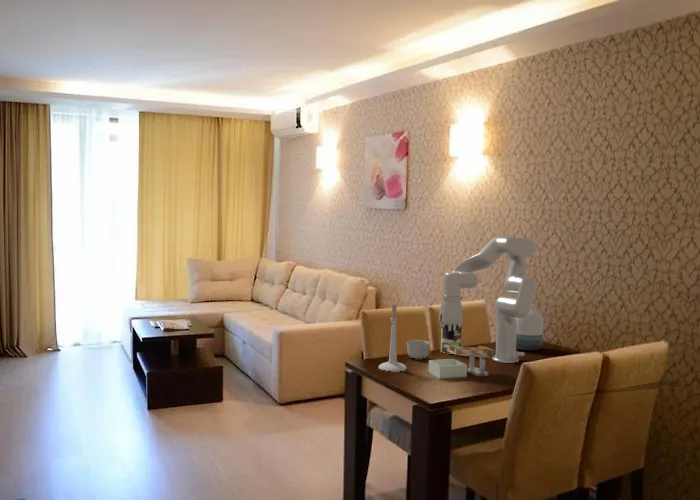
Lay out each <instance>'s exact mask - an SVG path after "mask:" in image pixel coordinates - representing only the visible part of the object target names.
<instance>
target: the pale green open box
mask: <svg viewBox="0 0 700 500" xmlns="http://www.w3.org/2000/svg"><path fill="white" fill-rule="evenodd" d="M467 368H468V364H466V363H465V362H462V361H461V360H458V359H456V358H446V359H430V360H428V373H429V374H430V375H432V376H433V377H435V378H437V379H439V380H446V379H460V378H461V379H463V378H467V375H468V374H467V373H468V372H467Z"/></svg>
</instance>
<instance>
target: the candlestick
mask: <svg viewBox="0 0 700 500" xmlns="http://www.w3.org/2000/svg"><path fill="white" fill-rule="evenodd" d="M389 319H390V323H391V327H390V328H391V331H390V332H391V333H390V345H389V357H388V361H386V362H382V363H380V364H379V365H378V369H379V370H380V369H381V370H380V371H383V370H385V371H384V372H387V371H391V372H390V373H399V372H400V371H402V372H406V371H407V370H408V368H407V366H406V365H405V364H404V363H401V362H398V358H397V354H398V353H397V327H396V325H397V323H398V321H397V320H398V318H397V303H391V317H390V318H389ZM406 369H407V370H406Z"/></svg>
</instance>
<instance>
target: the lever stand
mask: <svg viewBox="0 0 700 500" xmlns="http://www.w3.org/2000/svg"><path fill="white" fill-rule="evenodd" d="M468 357H469V360H468V362H469V363H468V367H467V373H469V374H471V375H473V376H475V377H485V376H486V377H487V376H488V377H489V376H490V375H489V372H488V371H486V370H485V369H486V357H485V355H480V357H479V367H476V366H475V364H476V363H475V361H476V358H475V357H474V356H468Z"/></svg>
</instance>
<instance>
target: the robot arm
mask: <svg viewBox="0 0 700 500" xmlns="http://www.w3.org/2000/svg"><path fill="white" fill-rule="evenodd" d="M536 250H537V245H536V243H535V242H534V240H533V239H530V238H524V237H523V238H522V237H515V236H508V235H507V236H503V235H497V236H495V237H492V238H491V239H490V241H488V242H487V244H485V246H483V248H482V249H481V250H480V251H479V252H478V253H476V254H474V255H473V256H470V257H469V258H466V259H465V260H462V261H461V262H460V263H458V265H457V266H455V268H454V269H453V270H452V271H448V272H445V273H444V280H443V281H444V283H443V301H441V304H440V308H439V314H438V315H439V317H438V322H439V326H440V327H441V328H442V327H444V328H445V329H446V330H447V339H449V340H454V331H455V330H456V329H457V328H458V327H460V326H462V327H463V319H464V316H463V315H464V314H463V312H464V311H463V303H462V302H461V301H462V300H463V299H464V297H463V296H462V295H461V294H462V293H461V291H462V288H463V289H474V288H475V287H476V286H477V285H478V283H479V277H478V276H477V275H476V274H475V273H474V272H476V271H477V272H478V271H481V270H485V269H488V268H490V267H492V266H493V264H494V263H496V262H497V260H498V259H499V258H501V256H503V255H506V256H507V259H508V268H507V272H506V274H505V280H504V284H503V289H504V292H506V293H507V294H511V295H516V296H517V297H516V296H511V295H501V296H499V297H498V298H497V299H496V300H495V305H494V307H495V315H496V335H495V336H496V337H495V338H496V339H495V354H494V356H493V358H491V359H492V360H493V361H494V362H498V363H502V364H505V363H506V364H515V362H516V363H519V361H520V358H519V357H524V356H525V351H521V352H519V351H517V349H516V334H517V323H516V320H515V317H516V318H525V317H526V316H527V315H528V314H529V312H530V309H531V306H532V304H533V301H534V298H535V295H536V291H537V286H536V281H535V280H534V278H533V277H531V276H527V275H526V273H527V267H528V266H527V265H528V264H527V261H526V259H525V257H528V258H529V257H531V256H533V255H534V254H535V253H536ZM444 324H445V325H444Z"/></svg>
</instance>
